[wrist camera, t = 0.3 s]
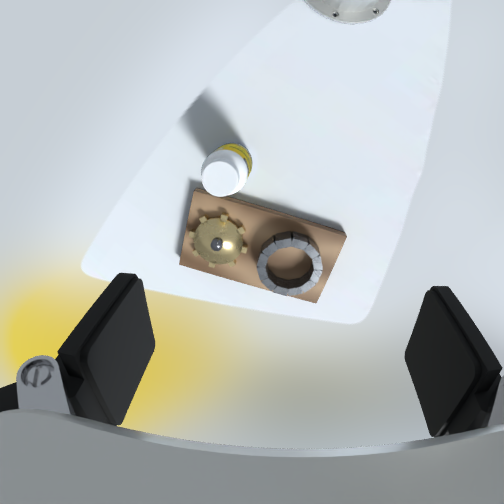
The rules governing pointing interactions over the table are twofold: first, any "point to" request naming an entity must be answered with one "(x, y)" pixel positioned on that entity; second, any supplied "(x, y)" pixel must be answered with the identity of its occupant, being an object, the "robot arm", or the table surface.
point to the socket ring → (291, 285)
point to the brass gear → (218, 240)
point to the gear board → (257, 232)
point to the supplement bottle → (226, 169)
